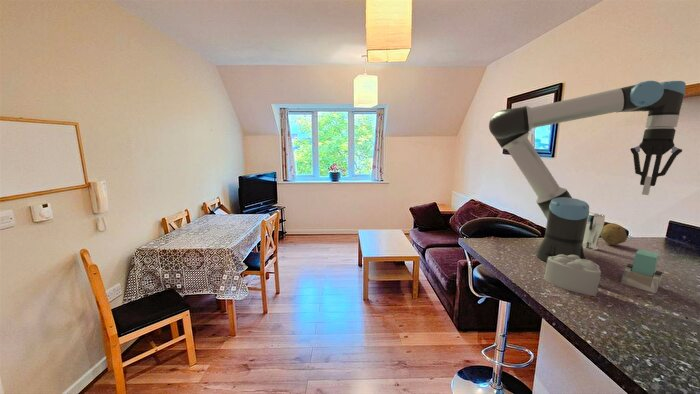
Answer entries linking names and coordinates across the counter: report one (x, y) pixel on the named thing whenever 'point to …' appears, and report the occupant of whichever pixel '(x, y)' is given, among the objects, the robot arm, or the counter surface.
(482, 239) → the counter surface
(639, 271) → the teal block
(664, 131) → the robot arm
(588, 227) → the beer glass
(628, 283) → the guide channel
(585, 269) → the lumpy-topped squat cylinder
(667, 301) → the counter surface
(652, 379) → the counter surface
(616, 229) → the natural sponge
